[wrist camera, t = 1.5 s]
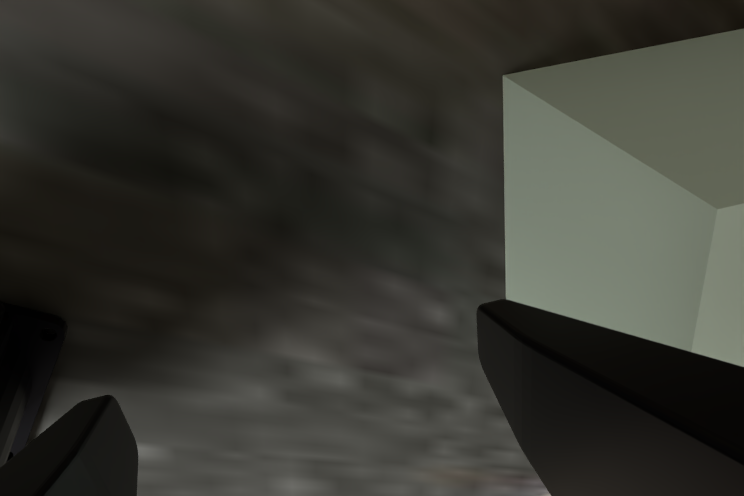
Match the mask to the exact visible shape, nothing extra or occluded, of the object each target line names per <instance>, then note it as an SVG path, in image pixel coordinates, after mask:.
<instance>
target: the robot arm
mask: <svg viewBox="0 0 744 496" xmlns="http://www.w3.org/2000/svg"><path fill="white" fill-rule="evenodd" d="M45 328H49V329H52V330H54V331H55V332H56V333H54V334H48V333H46V332H44V330H43V329H45ZM66 333H67V325H66V323H65V321H64V320H63V319H61V318H60V317H57V316H55V315H51V314H47V313H43V312H39V311H35V310H31V309H27V308H23V307H19V306H15V305H11V304H7V303H3V302H0V496H137V475H138V450H137V445H136V441H135V438H134V436H133V433H132V431H131V429H130V427H129V425H128V423H127V421H126V418H125V416H124V414H123V412H122V410H121V408H120V405H119V403H118V401H117V400H116V399H115V398H114V397H113V396H111V395H105V396H101V397H97V398H93V399H88V400H84V401H82V402H80V403H78V404H77V405H75V406H74V407H73V408H72V409H71V410H69V411H68V412H67V413H66V414H64V415H63V416H62V417H61V418H60V419H58V420H57V421H56V422H55V423H54V424H52V425H51V426H50V427H49V428H47V429H46V430H45V431H44V432H43V433H41V434H40V435H39V436H38V437H37V438H35V439H34V440H33V441H32V442H31V443H29V444H28V445H27V446H26V447H25V445H26V442H27V439H28V437H29V434H30V431H31V429H32V426H33V423H34V420H35V418H36V415H37V412H38V409H39V407H40V404H41V401H42V399H43V396H44V393H45V390H46V388H47V385H48V382H49V380H50V377H51V374H52V371H53V369H54V366H55V363H56V360H57V358H58V355H59V352H60V350H61V347H62V344H63V341H64V339H65V336H66ZM477 336H478V353H479V358H480V362H481V365H482V368H483V370H484V373H485V375H486V377H487V379H488V381H489V383H490V385H491V387H492V389H493V391H494V393H495V396H496V398H497V400H498V402H499V404H500V406H501V408H502V410H503V412H504V414H505V416H506V418H507V420H508V423H509V425H510V427H511V429H512V431H513V433H514V435H515V437H516V439H517V441H518V443H519V445H520V447H521V449H522V451H523V452H524V454H525V455H526V457H527V459H528V460H529V462H530V464H531V465H532V467H533V468H534V470H535V471H536V473H537V474H538V476H539V478H540V479H541V481H542V482H543V484H544V485H545V487H546V488H547V490H548V491H549V493H550V494H551V496H744V367H742V366H739V365H735V364H732V363H728V362H725V361H721V360H718V359H714V358H711V357H707V356H704V355H700V354H697V353H693V352H690V351H686V350H683V349H679V348H676V347H672V346H669V345H665V344H662V343H658V342H655V341H651V340H648V339H644V338H641V337H637V336H634V335H630V334H627V333H623V332H620V331H616V330H613V329H609V328H606V327H602V326H599V325H595V324H592V323H588V322H585V321H581V320H578V319H574V318H571V317H567V316H564V315H560V314H557V313H553V312H550V311H546V310H543V309H539V308H536V307H532V306H529V305H525V304H522V303H518V302H515V301H511V300H508V299H500V300H496V301H492V302H488V303H484V304H481V305H480V306H479V307H478V309H477ZM10 451H11V452H10Z"/></svg>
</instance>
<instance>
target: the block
mask: <svg viewBox="0 0 744 496" xmlns="http://www.w3.org/2000/svg"><path fill="white" fill-rule="evenodd" d="M503 129H504V198H505V267H506V299H508V300H511V301H515V302H518V303H522V304H525V305H529V306H532V307H536V308H539V309H543V310H546V311H550V312H553V313H557V314H560V315H564V316H567V317H571V318H574V319H578V320H581V321H585V322H588V323H592V324H595V325H599V326H602V327H606V328H609V329H613V330H616V331H620V332H623V333H627V334H630V335H634V336H637V337H641V338H644V339H648V340H651V341H655V342H658V343H662V344H665V345H669V346H672V347H676V348H679V349H683V350H686V351H690V352H693V353H697V354H700V355H704V356H707V357H711V358H714V359H718V360H721V361H725V362H728V363H732V364H735V365H739V366H742V367H744V29H739V30H734V31H728V32H723V33H718V34H713V35H708V36H703V37H698V38H692V39H687V40H682V41H677V42H672V43H667V44H661V45H656V46H651V47H646V48H641V49H636V50H630V51H625V52H620V53H615V54H610V55H605V56H600V57H594V58H589V59H584V60H579V61H574V62H569V63H563V64H558V65H553V66H548V67H543V68H538V69H532V70H527V71H522V72H517V73H512V74H507V75H503Z"/></svg>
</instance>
